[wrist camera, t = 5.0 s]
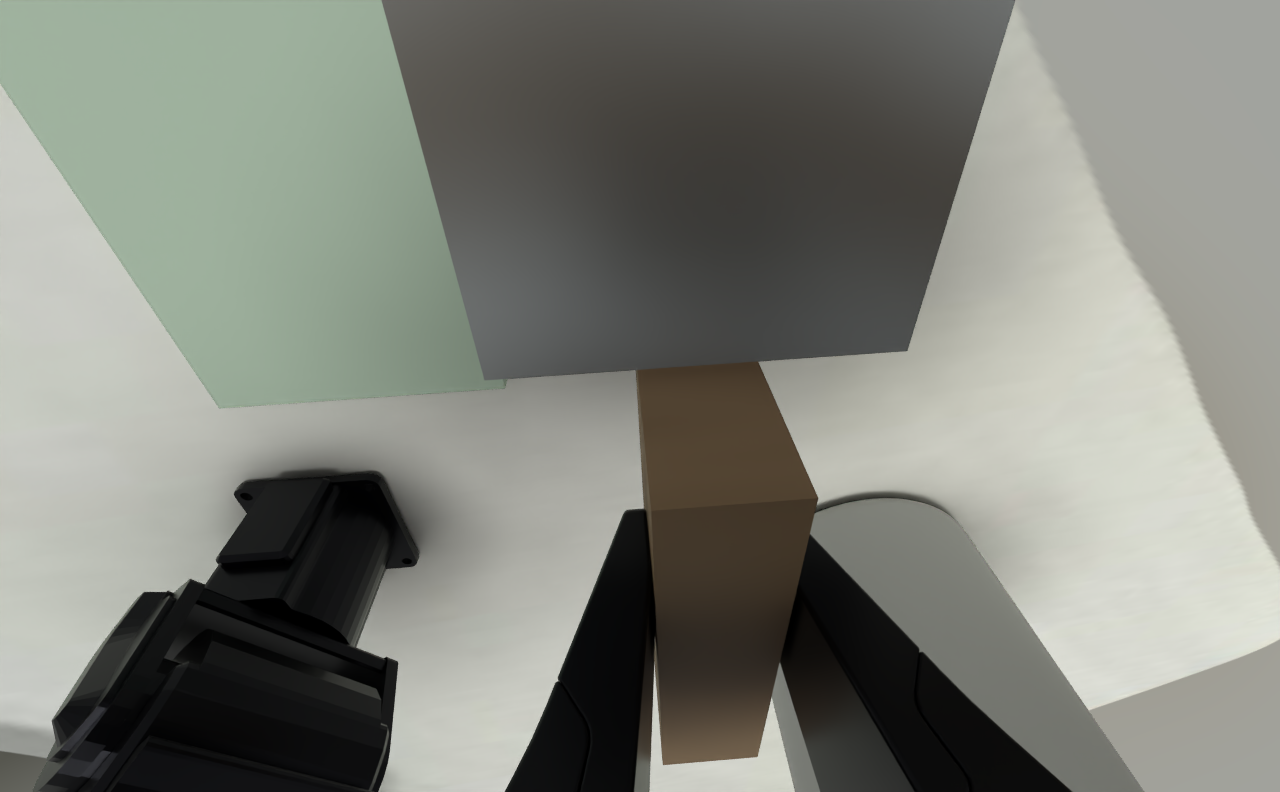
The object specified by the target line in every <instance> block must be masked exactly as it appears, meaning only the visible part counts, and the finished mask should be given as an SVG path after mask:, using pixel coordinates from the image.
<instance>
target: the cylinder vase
mask: <svg viewBox="0 0 1280 792" xmlns="http://www.w3.org/2000/svg"><path fill="white" fill-rule="evenodd" d="M810 534H811V535H812V536H813V537H814V538H815V539H816V540H817V541H818V542H819V544H820V545H821V546H822V547H823V548H824V549H825V550H826V551H827V552H828V553H829V554H830V555H831V556H832V557H833V558H834V559H835V560H836V561H837V562H838V563H839V564H840V565H841V566H842V568H843V569H844V570H845V571H846V572H847V573H848V574H849V575H850V576H851V577H852V578H853V579H854V580H855V581H856V582H857V583H858V584H859V585H860V586H861V587H862V588H863V589H864V590H865V592H866V593H867V594H868V595H869V596H870V597H871V598H872V599H873V600H874V601H875V602H876V603H877V604H878V605H879V606H880V607H881V608H882V609H883V610H884V611H885V612H886V613H887V614H888V616H889V617H890V618H891V619H892V620H893V621H894V622H895V623H896V624H897V625H898V626H899V627H900V628H901V629H902V630H903V631H904V632H905V633H906V634H907V635H908V636H909V637H910V638H911V640H912V641H913V642H914V643H915V644H916V645H917V646H918V647H919V649H920V651H919V652H924V653H925V654H926V655H927V656H928V657H929V658H930V659H931V660H932V661H933V662H934V663H935V664H936V665H937V666H938V668H939V669H940V670H941V671H942V672H943V673H944V674H945V675H946V676H947V677H948V678H949V679H950V680H951V681H952V682H953V683H954V684H955V685H956V686H957V687H958V688H959V689H960V690H961V691H962V692H963V693H964V694H965V695H966V696H967V697H968V698H969V699H970V700H971V701H972V702H974V703H975V704H976V705H977V706H978V707H979V708H980V709H981V710H982V711H983V712H984V713H985V714H987V715H988V716H989V717H990V718H991V719H992V720H993V721H994V722H995V723H996V724H997V725H999V726H1000V727H1001V728H1002V729H1003V730H1004V731H1005V732H1006V733H1007V734H1008V735H1010V736H1011V737H1012V738H1013V739H1014V740H1015V741H1016V742H1017V743H1019V744H1020V745H1021V746H1022V747H1023V748H1024V749H1025V750H1026V751H1028V752H1029V753H1030V754H1031V755H1032V756H1033V757H1034V758H1035V759H1037V760H1038V761H1039V762H1040V763H1041V764H1042V765H1043V766H1044V767H1046V768H1047V769H1048V770H1049V771H1050V772H1051V773H1052V774H1053V775H1055V776H1056V777H1057V778H1058V779H1059V780H1060V781H1061V782H1062V783H1064V784H1065V785H1066V786H1067V787H1068V788H1069V789H1070V790H1071V791H1073V792H1144V791H1143V789H1142V788H1141V786H1140V785H1139V783H1138V782H1137V780H1136V779H1135V777H1134V776H1133V774H1132V773H1131V772H1130V770H1129V769H1128V767H1127V766H1126V764H1125V763H1124V761H1123V760H1122V758H1121V757H1120V756H1119V754H1118V753H1117V751H1116V750H1115V748H1114V747H1113V745H1112V744H1111V743H1110V741H1109V740H1108V739H1107V737H1106V735H1105V734H1104V732H1103V731H1102V729H1101V728H1100V727H1099V725H1098V724H1097V722H1096V721H1095V719H1094V718H1093V716H1092V715H1091V713H1090V712H1089V711H1088V709H1087V708H1086V706H1085V705H1084V703H1083V702H1082V700H1081V699H1080V697H1079V696H1078V695H1077V693H1076V692H1075V690H1074V689H1073V687H1072V686H1071V684H1070V683H1069V682H1068V680H1067V679H1066V677H1065V676H1064V674H1063V673H1062V671H1061V670H1060V668H1059V667H1058V666H1057V664H1056V663H1055V661H1054V660H1053V658H1052V657H1051V655H1050V654H1049V652H1048V651H1047V650H1046V648H1045V647H1044V645H1043V644H1042V642H1041V641H1040V639H1039V638H1038V637H1037V635H1036V634H1035V632H1034V631H1033V629H1032V628H1031V626H1030V625H1029V623H1028V622H1027V621H1026V619H1025V618H1024V616H1023V615H1022V613H1021V612H1020V610H1019V609H1018V607H1017V606H1016V605H1015V603H1014V602H1013V600H1012V599H1011V597H1010V596H1009V594H1008V593H1007V592H1006V590H1005V589H1004V587H1003V586H1002V584H1001V583H1000V581H999V580H998V578H997V577H996V576H995V574H994V573H993V571H992V570H991V568H990V567H989V565H988V564H987V562H986V561H985V560H984V558H983V557H982V555H981V554H980V552H979V551H978V549H977V548H976V547H975V545H974V544H973V542H972V541H971V539H970V538H969V536H968V535H967V533H966V532H965V531H964V529H963V528H962V527H961V525H960V524H959V523H958V522H957V521H956V520H955V519H954V518H952V517H951V516H950V515H948V514H947V513H945V512H943V511H942V510H940V509H938V508H935V507H933V506H931V505H928V504H925V503H921V502H917V501H912V500H906V499H896V498H877V499H866V500H859V501H853V502H848V503H844V504H840V505H837V506H833V507H830V508H827V509H824V510H822V511H819V512H816V513H815V514H814V518H813V523H812V527H811V531H810ZM772 700H773V704H774V708H775V712H776V716H777V720H778V724H779V728H780V732H781V736H782V740H783V744H784V748H785V752H786V757H787V761H788V765H789V769H790V773H791V777H792V781H793V785H794V789H795V792H820V790H819V786H818V783H817V780H816V777H815V774H814V770H813V767H812V764H811V761H810V758H809V754H808V751H807V748H806V745H805V742H804V738H803V735H802V732H801V729H800V726H799V722H798V719H797V716H796V713H795V710H794V706H793V703H792V700H791V697H790V693H789V690H788V687H787V684H786V681H785V677H784V674H783V671H782V668H781V665H780V663H779V667H778V671H777V676H776V680H775V684H774V688H773V693H772Z"/></svg>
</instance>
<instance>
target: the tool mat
mask: <svg viewBox="0 0 1280 792" xmlns="http://www.w3.org/2000/svg"><path fill="white" fill-rule="evenodd" d="M0 84H1V85H2V87H3V88H4V90H5V91H6V93H7V94H8V96H9V97H10V99H11V100H12V102H13V103H14V105H15V106H16V108H17V109H18V111H19V112H20V114H21V115H22V117H23V118H24V120H25V121H26V123H27V124H28V125H29V127H30V128H31V130H32V131H33V133H34V134H35V136H36V137H37V139H38V140H39V142H40V143H41V145H42V146H43V148H44V149H45V151H46V152H47V154H48V155H49V157H50V158H51V160H52V161H53V163H54V164H55V166H56V167H57V169H58V170H59V171H60V173H61V174H62V176H63V177H64V179H65V180H66V182H67V183H68V185H69V186H70V188H71V189H72V191H73V192H74V194H75V195H76V197H77V198H78V200H79V201H80V203H81V204H82V206H83V207H84V209H85V210H86V212H87V213H88V214H89V216H90V217H91V219H92V220H93V222H94V223H95V225H96V226H97V228H98V229H99V231H100V232H101V234H102V235H103V237H104V238H105V240H106V241H107V243H108V244H109V246H110V247H111V249H112V250H113V252H114V253H115V255H116V256H117V258H118V259H119V260H120V262H121V263H122V265H123V266H124V268H125V269H126V271H127V272H128V274H129V275H130V277H131V278H132V280H133V281H134V283H135V284H136V286H137V287H138V289H139V290H140V292H141V293H142V295H143V296H144V298H145V299H146V301H147V302H148V303H149V305H150V306H151V308H152V309H153V311H154V312H155V314H156V315H157V317H158V318H159V320H160V321H161V323H162V324H163V326H164V327H165V329H166V330H167V332H168V333H169V335H170V336H171V338H172V339H173V341H174V342H175V344H176V345H177V347H178V348H179V349H180V351H181V352H182V354H183V355H184V357H185V358H186V360H187V361H188V363H189V364H190V366H191V367H192V369H193V370H194V372H195V373H196V375H197V376H198V378H199V379H200V381H201V382H202V384H203V385H204V387H205V388H206V390H207V391H208V392H209V394H210V395H211V397H212V398H213V400H214V401H215V403H216V404H217V406H218V407H219V408H233V407H248V406H262V405H276V404H290V403H305V402H319V401H333V400H347V399H361V398H376V397H390V396H404V395H418V394H432V393H447V392H461V391H475V390H489V389H504V388H505V386H506V382H507V379H499V380H484V377H483V373H482V369H481V366H480V362H479V358H478V354H477V351H476V347H475V343H474V340H473V336H472V332H471V329H470V325H469V321H468V318H467V314H466V310H465V307H464V303H463V299H462V295H461V292H460V288H459V284H458V281H457V277H456V273H455V270H454V266H453V262H452V259H451V255H450V251H449V248H448V244H447V240H446V237H445V233H444V229H443V225H442V222H441V218H440V214H439V211H438V207H437V203H436V200H435V196H434V192H433V189H432V185H431V181H430V178H429V174H428V170H427V166H426V163H425V159H424V155H423V152H422V148H421V144H420V141H419V137H418V133H417V130H416V126H415V122H414V119H413V115H412V111H411V107H410V104H409V100H408V96H407V93H406V89H405V85H404V82H403V78H402V74H401V71H400V67H399V63H398V60H397V56H396V52H395V49H394V45H393V41H392V37H391V34H390V30H389V26H388V23H387V19H386V15H385V12H384V8H383V4H382V1H381V0H0Z"/></svg>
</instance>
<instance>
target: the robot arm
mask: <svg viewBox="0 0 1280 792" xmlns="http://www.w3.org/2000/svg"><path fill="white" fill-rule="evenodd" d="M370 484H371V485H370ZM234 496H235V498H236V499H237V501H238V502H239V503H240V505H241V506H242V507H243V509H244V510H245V511H246V513H247V515H246V516H245V518H244V519H243V520H242V522H241V523H240V525H239V526H238V528H237V529H236V531H235V532H234V533H233V535H232V536H231V538H230V539H229V541H228V542H227V544H226V545H225V546H224V548H223V549H222V551H221V552H220V554H219V555H218V557H217V559H216V562H217V563H218V564H219V565H218V567H217V568H216V570H215V571H214V573H213V574H212V576H211V577H210V578H209V580H208V581H207V583H206V584H202V583H200V582H197V581H194V580H192V579H189V580H188V581H187V582H186V583H185V584H183V585H182V586H181V587H180V588H179V589H178V590H177V591H176V592H174V593H172V592H170V591H167V592H144V593H143V594H142V595H140V596H139V597H138V598H137V599H136V600H135V602H134V603H133V604H132V606H131V607H130V608H129V609H128V611H127V612H126V613H125V615H124V616H123V617H122V618H121V620H120V621H119V622H118V624H117V625H116V626H115V627H114V629H113V630H112V631H111V633H110V634H109V635H108V637H107V638H106V639H105V641H104V642H103V643H102V645H101V646H100V647H99V649H98V650H97V652H96V653H95V654H94V656H93V657H92V659H91V660H90V662H89V663H88V665H87V667H86V668H85V670H84V671H83V673H82V674H81V676H80V677H79V679H78V680H77V682H76V684H75V685H74V687H73V688H72V690H71V691H70V693H69V694H68V696H67V698H66V699H65V701H64V702H63V704H62V705H61V707H60V708H59V710H58V711H57V713H56V715H55V716H54V718H53V719H52V724H53V729H54V734H55V739H56V741H55V743H54V745H53V747H52V749H51V751H50V753H49V755H48V757H47V763H46V765H45V767H44V768H43V770H42V772H41V774H40V776H39V778H38V780H37V781H36V784H35V786H34V788H33V792H378V791H379V788H380V786H381V783H382V780H383V778H384V774H385V771H386V767H387V764H388V759H389V753H390V744H391V733H392V723H393V712H394V702H395V691H396V681H397V670H398V662H397V661H395V660H393V659H390V658H388V657H386V658H381V657H379V656H376V655H374V654H371V653H369V652H366V651H364V650H361V649H358V648H356V646H357V644H358V641H359V638H360V636H361V633H362V630H363V628H364V625H365V623H366V620H367V617H368V615H369V612H370V609H371V607H372V604H373V601H374V599H375V596H376V594H377V591H378V588H379V586H380V583H381V580H382V578H383V575H384V572H385V570H386V569H391V568H404V567H412V566H415V565H416V564H417V561H418V558H419V553H418V551H417V549H416V547H415V545H414V543H413V541H412V539H411V537H410V535H409V533H408V531H407V528H406V526H405V524H404V522H403V520H402V518H401V516H400V514H399V512H398V510H397V508H396V506H395V504H394V502H393V500H392V498H391V495H390V493H389V491H388V489H387V487H386V485H385V483H384V481H383V480H382V478H381V477H379V476H378V475H375V474H355V475H342V476H328V477H315V478H301V479H287V480H274V481H260V482H246V483H242V484H241V485H239V487H238V488H237V489H236V491H235V492H234ZM919 651H920V649H919V647H918V646H917V645H916V644H915V643H914V642H913V641H912V640H911V638H910V637H909V636H908V635H907V634H906V633H905V632H904V631H903V630H902V629H901V628H900V627H899V626H898V625H897V624H896V623H895V622H894V621H893V620H892V619H891V618H890V617H889V616H888V614H887V613H886V612H885V611H884V610H883V609H882V608H881V607H880V606H879V605H878V604H877V603H876V602H875V601H874V600H873V599H872V598H871V597H870V596H869V595H868V594H867V593H866V592H865V590H864V589H863V588H862V587H861V586H860V585H859V584H858V583H857V582H856V581H855V580H854V579H853V578H852V577H851V576H850V575H849V574H848V573H847V572H846V571H845V570H844V569H843V568H842V566H841V565H840V564H839V563H838V562H837V561H836V560H835V559H834V558H833V557H832V556H831V555H830V554H829V553H828V552H827V551H826V550H825V549H824V548H823V547H822V546H821V545H820V544H819V542H818V541H817V540H816V539H815V538H814V537H813V536H812V535H811V534H810V535H809V540H808V544H807V548H806V552H805V557H804V561H803V565H802V569H801V574H800V578H799V582H798V586H797V591H796V595H795V599H794V603H793V608H792V612H791V616H790V620H789V625H788V629H787V633H786V637H785V642H784V646H783V650H782V654H781V659H780V665H781V668H782V671H783V674H784V677H785V681H786V684H787V687H788V690H789V693H790V697H791V700H792V703H793V706H794V710H795V713H796V716H797V719H798V722H799V726H800V729H801V732H802V735H803V738H804V742H805V745H806V748H807V751H808V754H809V758H810V761H811V764H812V767H813V770H814V774H815V777H816V780H817V783H818V786H819V790H820V792H1073V791H1071V790H1070V789H1069V788H1068V787H1067V786H1066V785H1065V784H1064V783H1062V782H1061V781H1060V780H1059V779H1058V778H1057V777H1056V776H1055V775H1053V774H1052V773H1051V772H1050V771H1049V770H1048V769H1047V768H1046V767H1044V766H1043V765H1042V764H1041V763H1040V762H1039V761H1038V760H1037V759H1035V758H1034V757H1033V756H1032V755H1031V754H1030V753H1029V752H1028V751H1026V750H1025V749H1024V748H1023V747H1022V746H1021V745H1020V744H1019V743H1017V742H1016V741H1015V740H1014V739H1013V738H1012V737H1011V736H1010V735H1008V734H1007V733H1006V732H1005V731H1004V730H1003V729H1002V728H1001V727H1000V726H999V725H997V724H996V723H995V722H994V721H993V720H992V719H991V718H990V717H989V716H988V715H987V714H985V713H984V712H983V711H982V710H981V709H980V708H979V707H978V706H977V705H976V704H975V703H974V702H972V701H971V700H970V699H969V698H968V697H967V696H966V695H965V694H964V693H963V692H962V691H961V690H960V689H959V688H958V687H957V686H956V685H955V684H954V683H953V682H952V681H951V680H950V679H949V678H948V677H947V676H946V675H945V674H944V673H943V672H942V671H941V670H940V669H939V668H938V666H937V665H936V664H935V663H934V662H933V661H932V660H931V659H930V658H929V657H928V656H927V655H926V654H925V653H924V652H919ZM654 655H655V619H654V599H653V579H652V565H651V554H650V544H649V533H648V523H647V513H646V510H645V509H632V510H626V511H625V512H624V514H623V516H622V519H621V521H620V524H619V526H618V529H617V531H616V534H615V536H614V539H613V541H612V544H611V546H610V549H609V551H608V554H607V556H606V559H605V561H604V564H603V566H602V569H601V571H600V574H599V576H598V579H597V581H596V584H595V586H594V589H593V591H592V594H591V596H590V599H589V601H588V604H587V606H586V609H585V611H584V614H583V616H582V619H581V621H580V624H579V626H578V629H577V631H576V633H575V636H574V638H573V641H572V643H571V646H570V648H569V651H568V653H567V656H566V658H565V661H564V663H563V666H562V668H561V671H560V673H559V676H558V682H556V683H555V685H554V688H553V690H552V693H551V695H550V698H549V700H548V703H547V705H546V707H545V710H544V712H543V714H542V717H541V719H540V721H539V723H538V726H537V728H536V730H535V733H534V735H533V737H532V739H531V741H530V743H529V745H528V747H527V749H526V751H525V753H524V755H523V757H522V759H521V761H520V763H519V765H518V767H517V769H516V771H515V773H514V775H513V777H512V779H511V781H510V783H509V785H508V787H507V788H506V790H505V792H649V787H650V761H651V734H652V708H653V682H654Z"/></svg>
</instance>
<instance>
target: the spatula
mask: <svg viewBox="0 0 1280 792" xmlns="http://www.w3.org/2000/svg"><path fill="white" fill-rule="evenodd" d="M381 1H382V4H383V8H384V12H385V15H386V19H387V23H388V26H389V30H390V34H391V37H392V41H393V45H394V49H395V52H396V56H397V60H398V63H399V67H400V71H401V74H402V78H403V82H404V85H405V89H406V93H407V96H408V100H409V104H410V107H411V111H412V115H413V119H414V122H415V126H416V130H417V133H418V137H419V141H420V144H421V148H422V152H423V155H424V159H425V163H426V166H427V170H428V174H429V178H430V181H431V185H432V189H433V192H434V196H435V200H436V203H437V207H438V211H439V214H440V218H441V222H442V225H443V229H444V233H445V237H446V240H447V244H448V248H449V251H450V255H451V259H452V262H453V266H454V270H455V273H456V277H457V281H458V284H459V288H460V292H461V295H462V299H463V303H464V307H465V310H466V314H467V318H468V321H469V325H470V329H471V332H472V336H473V340H474V343H475V347H476V351H477V354H478V358H479V362H480V366H481V369H482V373H483V377H484V380H499V379H513V378H528V377H542V376H556V375H571V374H585V373H599V372H614V371H628V370H636V380H637V397H638V414H639V431H640V448H641V465H642V483H643V500H644V509H645V510H646V513H647V523H648V533H649V544H650V554H651V565H652V579H653V599H654V619H655V655H654V661H655V674H656V686H657V698H658V711H659V723H660V735H661V747H662V760H663V765H670V764H681V763H693V762H704V761H716V760H728V759H739V758H751V757H758V752H759V748H760V744H761V740H762V735H763V731H764V727H765V722H766V718H767V714H768V710H769V705H770V701H771V697H772V693H773V688H774V684H775V680H776V676H777V671H778V667H779V663H780V659H781V654H782V650H783V646H784V642H785V637H786V633H787V629H788V625H789V620H790V616H791V612H792V608H793V603H794V599H795V595H796V591H797V586H798V582H799V578H800V574H801V569H802V565H803V561H804V557H805V552H806V548H807V544H808V540H809V535H810V531H811V527H812V523H813V518H814V514H815V510H816V505H817V501H818V497H817V494H816V492H815V490H814V487H813V485H812V483H811V481H810V478H809V476H808V474H807V472H806V469H805V467H804V465H803V462H802V460H801V458H800V456H799V453H798V451H797V449H796V447H795V444H794V442H793V440H792V438H791V435H790V433H789V431H788V428H787V426H786V424H785V422H784V419H783V417H782V415H781V413H780V410H779V408H778V406H777V404H776V401H775V399H774V397H773V394H772V392H771V390H770V388H769V385H768V383H767V381H766V379H765V376H764V374H763V372H762V370H761V367H760V365H759V363H758V361H771V360H786V359H800V358H814V357H829V356H843V355H857V354H872V353H886V352H900V351H907V350H908V347H909V343H910V340H911V337H912V334H913V330H914V327H915V324H916V321H917V318H918V314H919V311H920V308H921V305H922V301H923V298H924V295H925V292H926V288H927V285H928V282H929V279H930V275H931V272H932V269H933V266H934V262H935V259H936V256H937V253H938V249H939V246H940V243H941V240H942V236H943V233H944V230H945V227H946V223H947V220H948V217H949V214H950V210H951V207H952V204H953V201H954V197H955V194H956V191H957V188H958V184H959V181H960V178H961V175H962V171H963V168H964V165H965V162H966V159H967V155H968V152H969V149H970V146H971V142H972V139H973V136H974V133H975V129H976V126H977V123H978V120H979V116H980V113H981V110H982V107H983V103H984V100H985V97H986V94H987V90H988V87H989V84H990V81H991V77H992V74H993V71H994V68H995V64H996V61H997V58H998V55H999V51H1000V48H1001V45H1002V42H1003V38H1004V35H1005V32H1006V29H1007V25H1008V22H1009V19H1010V16H1011V12H1012V9H1013V6H1014V3H1015V0H381Z"/></svg>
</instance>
